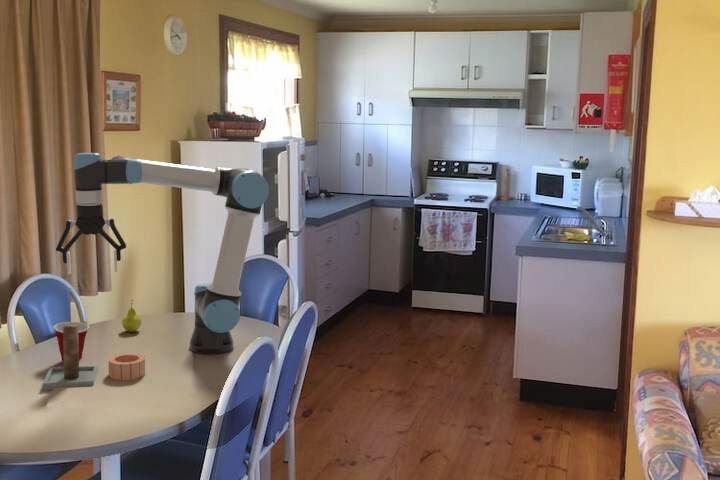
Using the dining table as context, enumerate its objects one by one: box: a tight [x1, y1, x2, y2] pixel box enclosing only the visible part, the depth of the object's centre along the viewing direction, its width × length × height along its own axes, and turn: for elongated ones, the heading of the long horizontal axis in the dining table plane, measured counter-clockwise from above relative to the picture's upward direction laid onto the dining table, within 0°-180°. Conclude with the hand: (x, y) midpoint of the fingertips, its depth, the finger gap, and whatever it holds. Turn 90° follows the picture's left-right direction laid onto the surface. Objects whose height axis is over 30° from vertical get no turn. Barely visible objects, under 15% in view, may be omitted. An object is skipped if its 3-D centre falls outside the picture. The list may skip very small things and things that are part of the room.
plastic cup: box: [53, 321, 90, 364], centre depth 237 cm, size 11×11×12 cm
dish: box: [42, 364, 99, 392], centre depth 220 cm, size 14×14×2 cm
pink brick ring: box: [107, 352, 146, 381], centre depth 225 cm, size 11×11×6 cm
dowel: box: [63, 324, 80, 380], centre depth 219 cm, size 4×4×16 cm
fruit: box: [121, 299, 142, 333], centre depth 272 cm, size 7×7×12 cm
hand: (92, 272), depth 225 cm, fingers open, 13 cm apart
